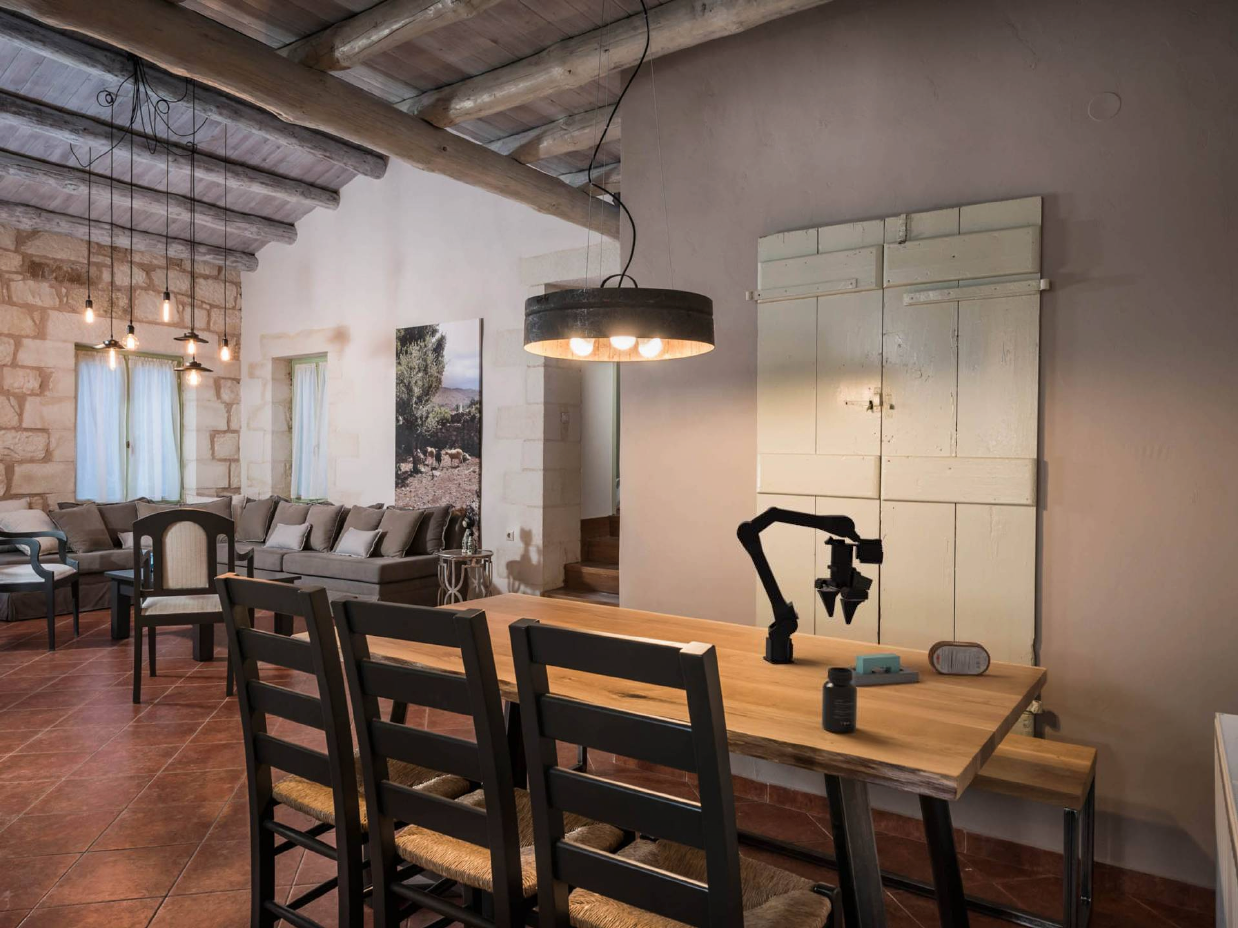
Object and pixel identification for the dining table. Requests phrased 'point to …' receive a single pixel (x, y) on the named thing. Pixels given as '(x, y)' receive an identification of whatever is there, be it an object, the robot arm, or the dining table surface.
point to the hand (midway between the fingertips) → (839, 620)
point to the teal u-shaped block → (877, 662)
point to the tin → (959, 658)
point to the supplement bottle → (839, 701)
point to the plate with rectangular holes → (884, 676)
